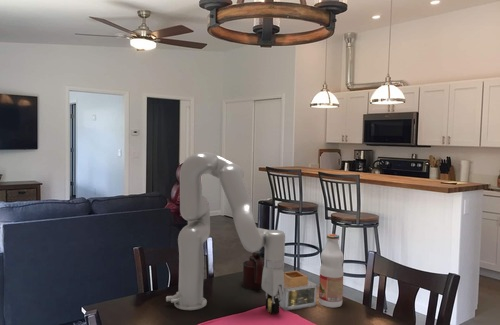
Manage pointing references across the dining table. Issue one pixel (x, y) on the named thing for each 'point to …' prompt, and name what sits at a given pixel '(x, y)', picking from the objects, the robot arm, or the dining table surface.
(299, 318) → the dining table surface
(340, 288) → the fruit juice
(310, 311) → the dining table surface
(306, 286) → the translucent plastic box
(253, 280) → the oil can
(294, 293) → the brass pellet
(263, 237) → the robot arm
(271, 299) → the brass pellet
